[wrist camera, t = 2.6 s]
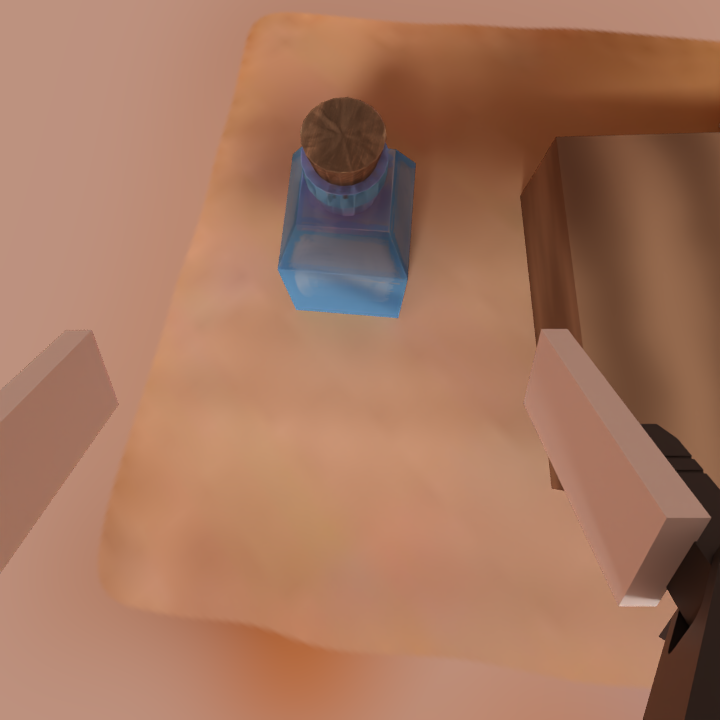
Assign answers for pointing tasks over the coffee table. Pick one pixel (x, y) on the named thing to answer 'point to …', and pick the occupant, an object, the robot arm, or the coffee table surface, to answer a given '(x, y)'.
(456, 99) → the coffee table surface
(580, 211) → the walnut riser block
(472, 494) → the coffee table surface
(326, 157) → the perfume bottle
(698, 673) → the robot arm
